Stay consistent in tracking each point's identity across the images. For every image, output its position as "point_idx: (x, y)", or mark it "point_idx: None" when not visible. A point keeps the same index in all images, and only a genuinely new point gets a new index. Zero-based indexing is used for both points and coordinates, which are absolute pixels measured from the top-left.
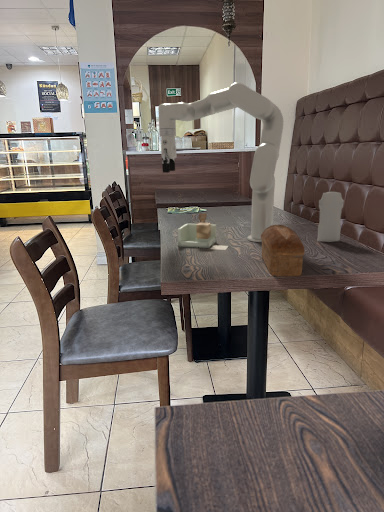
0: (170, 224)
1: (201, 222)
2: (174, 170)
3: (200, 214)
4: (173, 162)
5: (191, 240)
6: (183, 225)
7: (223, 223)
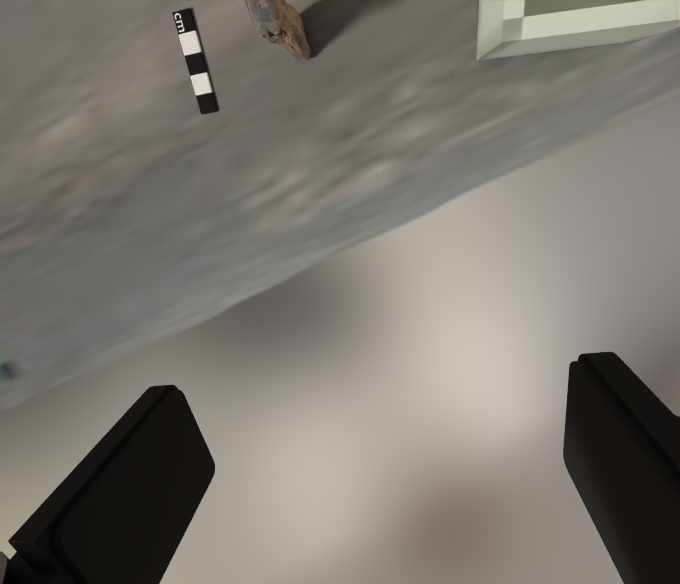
0: (183, 289)
1: (293, 23)
2: (172, 388)
3: (279, 17)
4: (54, 556)
5: (526, 2)
6: (578, 29)
7: (17, 20)
